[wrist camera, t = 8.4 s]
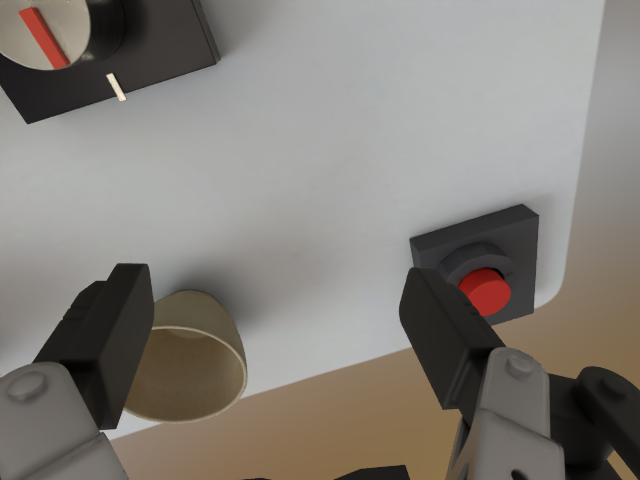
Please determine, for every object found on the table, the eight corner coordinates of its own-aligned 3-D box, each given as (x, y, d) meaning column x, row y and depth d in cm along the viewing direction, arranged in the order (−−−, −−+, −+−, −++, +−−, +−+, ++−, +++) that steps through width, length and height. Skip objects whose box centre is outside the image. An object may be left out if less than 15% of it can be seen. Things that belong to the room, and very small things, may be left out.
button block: (409, 238, 31) (427, 264, 28) (522, 203, 31) (555, 225, 28) (423, 327, 37) (440, 358, 34) (519, 298, 37) (546, 326, 33)
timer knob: (2, -26, 17) (-79, -41, 13) (90, -60, 17) (35, -86, 13) (65, 73, 19) (12, 86, 15) (143, 44, 19) (111, 50, 15)
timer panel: (154, -119, 18) (136, -143, 16) (223, 64, 23) (218, 70, 20) (-52, -50, 19) (-106, -63, 16) (56, 118, 23) (29, 130, 20)
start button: (455, 275, 29) (465, 288, 28) (498, 262, 29) (511, 274, 28) (458, 307, 31) (468, 322, 30) (498, 295, 31) (510, 308, 30)
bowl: (222, 249, 29) (212, 308, 23) (265, 334, 34) (267, 401, 28) (104, 287, 30) (63, 355, 23) (165, 365, 35) (145, 438, 29)
